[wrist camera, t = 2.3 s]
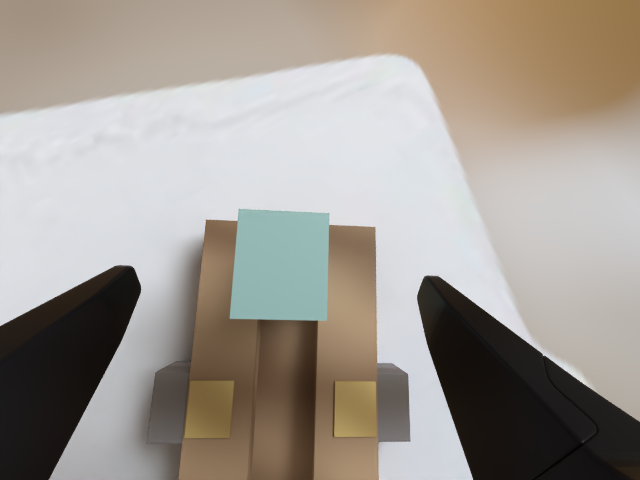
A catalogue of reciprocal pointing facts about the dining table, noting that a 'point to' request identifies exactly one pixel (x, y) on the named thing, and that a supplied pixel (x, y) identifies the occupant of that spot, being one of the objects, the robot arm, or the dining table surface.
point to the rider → (280, 266)
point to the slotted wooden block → (283, 378)
